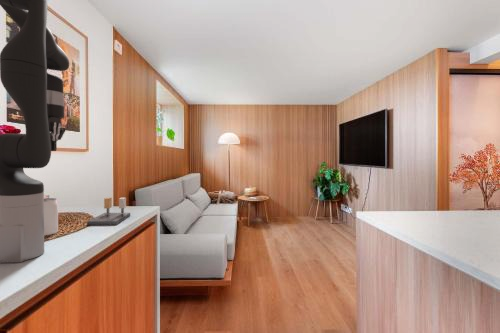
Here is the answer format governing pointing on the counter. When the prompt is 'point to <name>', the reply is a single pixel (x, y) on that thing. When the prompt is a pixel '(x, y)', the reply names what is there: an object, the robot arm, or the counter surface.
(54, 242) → the counter surface
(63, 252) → the counter surface
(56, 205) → the can
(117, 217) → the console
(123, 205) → the knob
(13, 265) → the counter surface
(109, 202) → the knob
